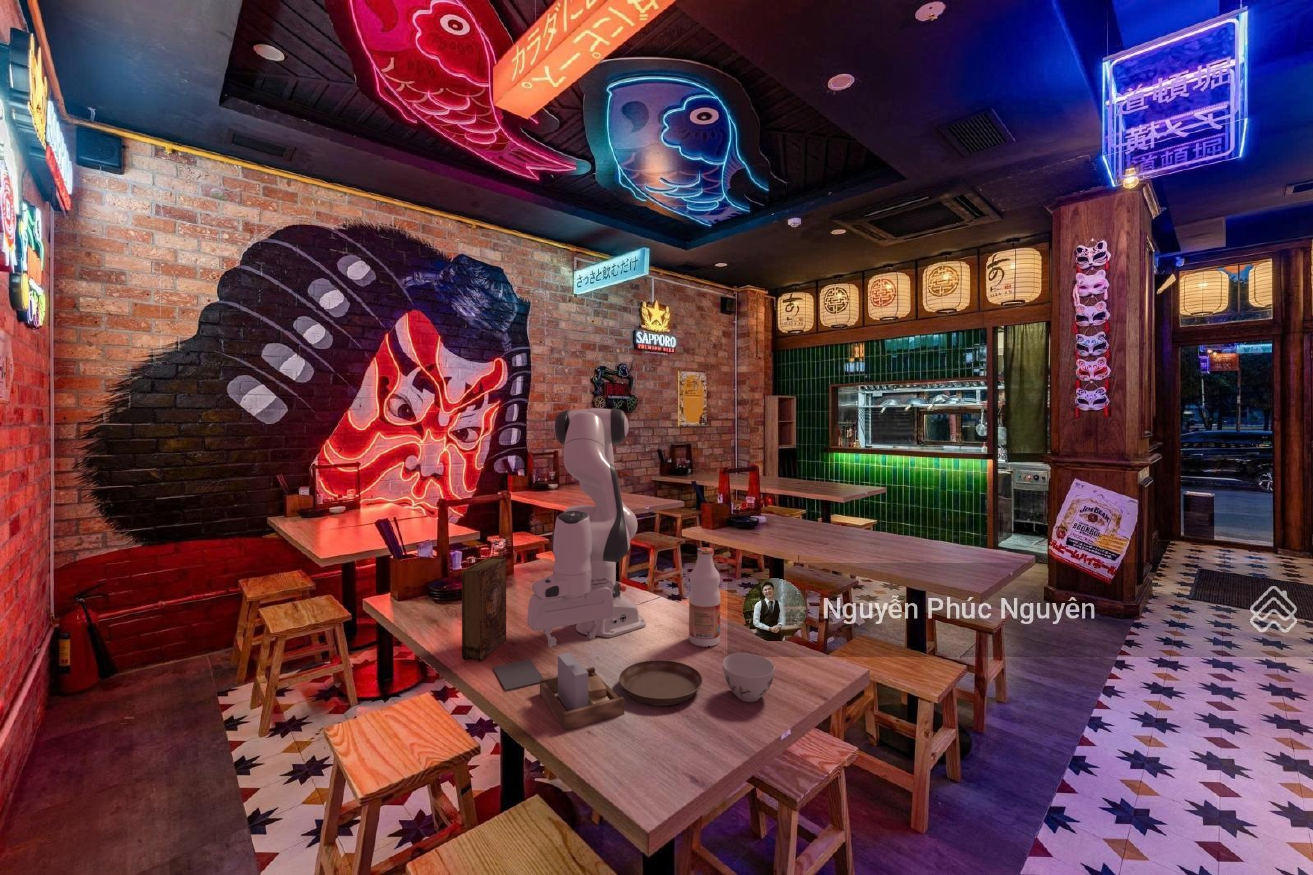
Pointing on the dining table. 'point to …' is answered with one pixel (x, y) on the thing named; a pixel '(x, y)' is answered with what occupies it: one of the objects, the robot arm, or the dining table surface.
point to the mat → (518, 674)
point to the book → (483, 608)
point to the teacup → (748, 675)
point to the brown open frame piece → (585, 713)
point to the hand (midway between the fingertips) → (571, 642)
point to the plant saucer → (660, 682)
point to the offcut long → (597, 700)
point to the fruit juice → (704, 601)
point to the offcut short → (596, 688)
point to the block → (572, 682)
